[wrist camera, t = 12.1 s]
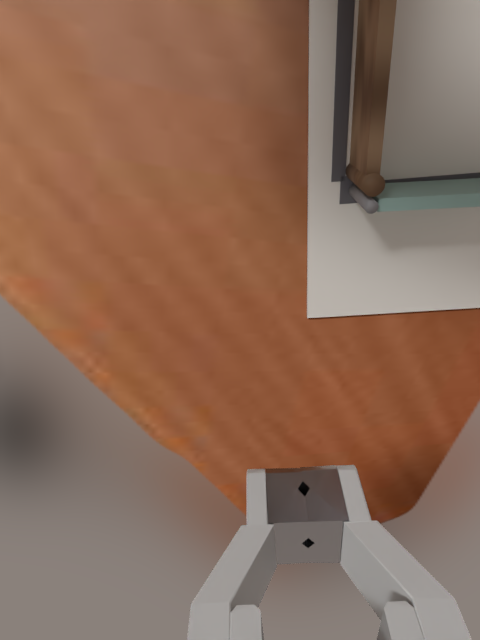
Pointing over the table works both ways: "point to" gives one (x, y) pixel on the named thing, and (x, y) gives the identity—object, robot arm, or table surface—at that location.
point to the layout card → (394, 163)
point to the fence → (371, 93)
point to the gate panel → (421, 195)
